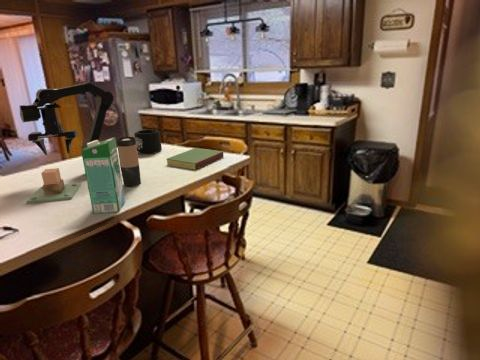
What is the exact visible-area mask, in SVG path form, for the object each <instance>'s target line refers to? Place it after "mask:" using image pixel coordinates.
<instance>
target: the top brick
mask: <svg viewBox="0 0 480 360" xmlns="http://www.w3.org/2000/svg"><path fill="white" fill-rule="evenodd" d="M60 172H61V171H60V168H59V167H55V168H45V169H44V170H42V172H41V173H40V174H41V177H42V182H43V185H50V184H58V183H59V182H60V181H61V179H62V177H61V173H60Z"/></svg>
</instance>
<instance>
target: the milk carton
mask: <svg viewBox="0 0 480 360" xmlns="http://www.w3.org/2000/svg"><path fill="white" fill-rule="evenodd" d="M87 146H88V147H86V148H85V149H83V150H82V149H81V151H80V153H81V156H82V163H83V167H84V172H85V173H84V174H85V178H86V184H87V188H88V194H89V199H90V204H91V209H92V214H106V213H107V214H108V213H120V212H121V209H122V208H123V206H124V204H125V203H126V199H125V192H124V188H123V187H124V184H123V178H122V173H121V168H120V161H119V154H118V147H117V140H116V137H115V136H114V137H111V138H108V139H105V140H104V139H103V140H102V141H100V140H99V141H98V140H95V141H92V142H89V143H87Z"/></svg>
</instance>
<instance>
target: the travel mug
mask: <svg viewBox="0 0 480 360" xmlns="http://www.w3.org/2000/svg"><path fill="white" fill-rule="evenodd" d="M116 147H117V153H118V160H119V166H120V172H121V179H122V184H123V187H127V188H132V187H134V188H135V187H137V186H140V185H141V184H142V181H141V171H140V161H139V155H138V154H139V153H138V152H137V147H136V140H135V136H123V137H118V138H116Z"/></svg>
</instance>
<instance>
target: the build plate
mask: <svg viewBox="0 0 480 360" xmlns="http://www.w3.org/2000/svg"><path fill="white" fill-rule="evenodd" d="M81 185H82V183H80V182H79V183H77V182H75V183H68V184H64V186H65V189H64V190H63V192H62V193H61V194H50V195H45V194H44V190H43V186H40V187H39V188H38V189H37V190H36V191H35V192H34V193H33V194H32V195H31V196H29V197H28V199H27V200H26V204H27V205H28V204H37V203H46V202H57V201H66V200H73V198H74V197H75V195H76V193H77V192H78V190H79V188H81Z"/></svg>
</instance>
